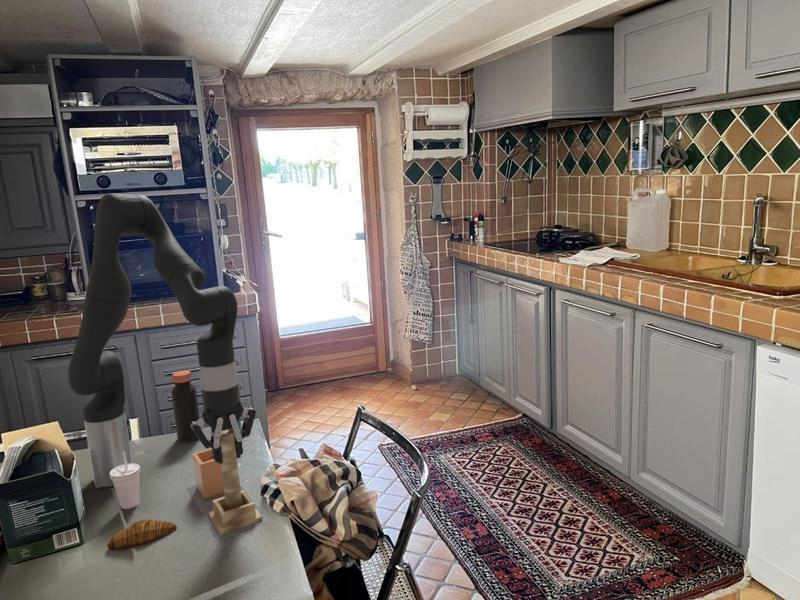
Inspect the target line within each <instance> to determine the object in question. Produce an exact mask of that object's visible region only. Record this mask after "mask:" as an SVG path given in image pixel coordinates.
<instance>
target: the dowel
mask: <svg viewBox="0 0 800 600" xmlns="http://www.w3.org/2000/svg"><path fill="white" fill-rule="evenodd" d="M219 446H220V447H221V454H222V463H221V469H222V478H223V486H224V494H225V502H226V505H227V506H236V505H238V504H240V503H241V502H242V497H241V488H240V485H241V481H240V473H239V465H238V459H237V454H236V445H235V436H234V433H233V431H232V430H224V431H222V432H221V438H220V444H219Z"/></svg>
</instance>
